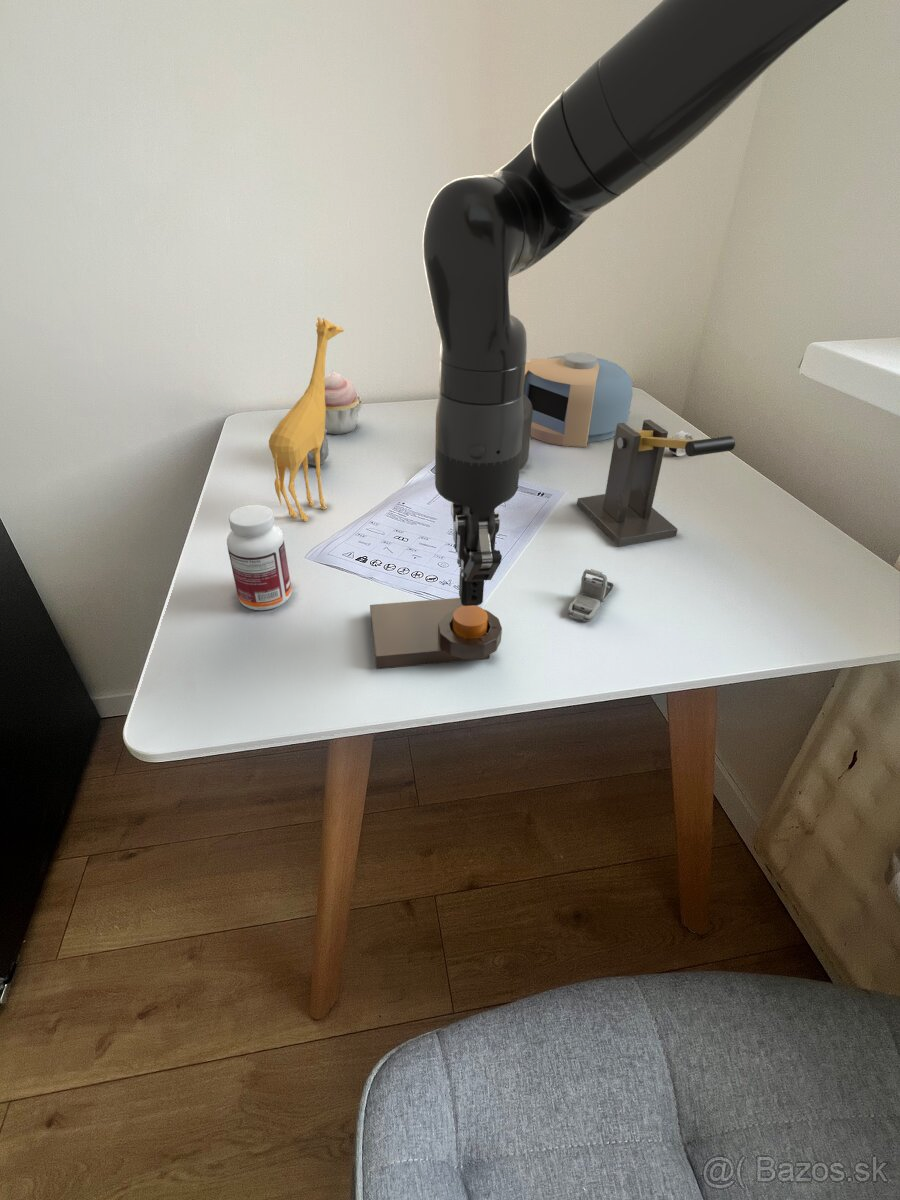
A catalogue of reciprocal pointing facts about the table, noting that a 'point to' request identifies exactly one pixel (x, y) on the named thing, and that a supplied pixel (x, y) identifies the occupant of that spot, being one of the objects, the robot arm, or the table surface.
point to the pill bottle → (258, 558)
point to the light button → (470, 622)
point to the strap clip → (590, 596)
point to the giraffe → (303, 427)
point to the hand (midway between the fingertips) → (470, 600)
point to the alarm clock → (576, 398)
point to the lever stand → (630, 491)
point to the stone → (322, 452)
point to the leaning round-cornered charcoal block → (526, 431)
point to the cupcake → (340, 404)
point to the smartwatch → (679, 436)
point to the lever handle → (686, 444)
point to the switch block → (426, 634)
